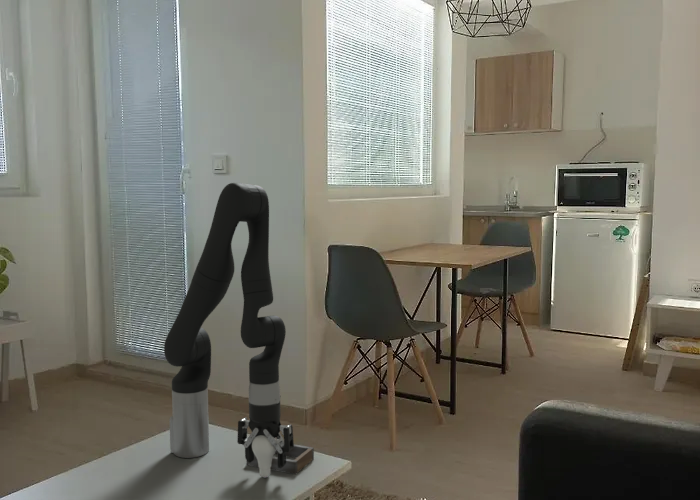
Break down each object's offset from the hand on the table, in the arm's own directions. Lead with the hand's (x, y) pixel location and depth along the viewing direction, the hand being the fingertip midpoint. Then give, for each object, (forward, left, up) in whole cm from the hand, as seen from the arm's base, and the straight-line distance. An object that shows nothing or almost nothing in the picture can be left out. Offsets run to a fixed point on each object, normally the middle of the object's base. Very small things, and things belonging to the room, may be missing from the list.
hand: (265, 464), depth 165 cm
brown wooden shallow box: (-1, +9, -3) cm, 10 cm away
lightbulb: (0, 0, -4) cm, 4 cm away
